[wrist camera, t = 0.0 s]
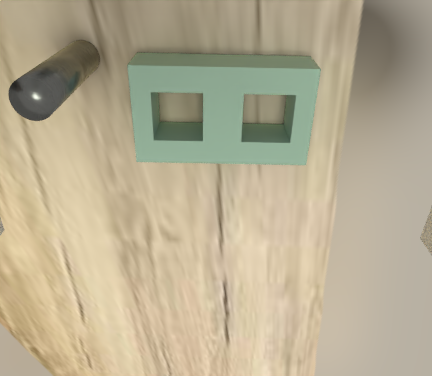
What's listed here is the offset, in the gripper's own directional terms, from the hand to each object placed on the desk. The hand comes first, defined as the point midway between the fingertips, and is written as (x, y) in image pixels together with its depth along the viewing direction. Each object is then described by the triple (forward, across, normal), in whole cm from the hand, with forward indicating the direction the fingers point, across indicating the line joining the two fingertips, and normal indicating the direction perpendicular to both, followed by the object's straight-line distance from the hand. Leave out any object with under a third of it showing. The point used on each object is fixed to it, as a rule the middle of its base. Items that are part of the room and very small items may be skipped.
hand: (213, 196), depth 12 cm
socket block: (+28, +1, -7) cm, 29 cm away
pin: (+28, -12, -3) cm, 31 cm away
